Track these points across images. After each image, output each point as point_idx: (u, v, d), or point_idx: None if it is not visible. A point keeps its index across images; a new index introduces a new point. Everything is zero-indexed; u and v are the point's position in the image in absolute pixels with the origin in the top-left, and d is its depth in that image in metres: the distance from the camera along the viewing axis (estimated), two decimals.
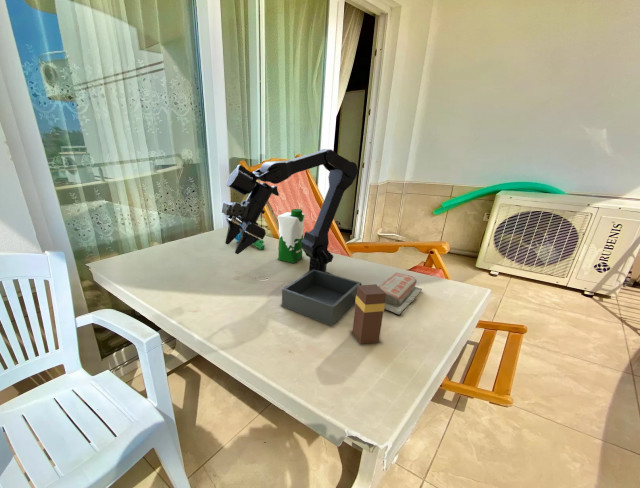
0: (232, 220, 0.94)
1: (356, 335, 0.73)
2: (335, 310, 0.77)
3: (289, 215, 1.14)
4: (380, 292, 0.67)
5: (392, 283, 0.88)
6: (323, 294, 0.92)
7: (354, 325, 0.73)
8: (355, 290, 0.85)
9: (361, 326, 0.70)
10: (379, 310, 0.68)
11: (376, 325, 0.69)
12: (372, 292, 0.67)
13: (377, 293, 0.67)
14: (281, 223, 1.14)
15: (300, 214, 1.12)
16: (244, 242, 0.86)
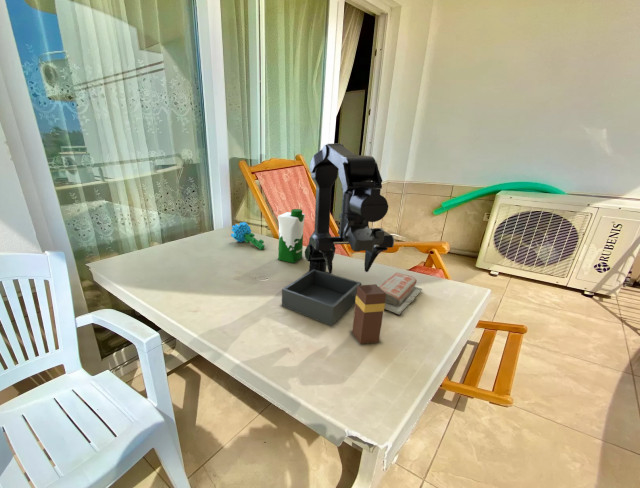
0: None
1: (356, 335, 0.73)
2: (335, 310, 0.77)
3: (289, 215, 1.14)
4: (380, 292, 0.67)
5: (392, 283, 0.88)
6: (323, 294, 0.92)
7: (354, 325, 0.73)
8: (355, 290, 0.85)
9: (361, 326, 0.70)
10: (379, 310, 0.68)
11: (376, 325, 0.69)
12: (372, 292, 0.67)
13: (377, 293, 0.67)
14: (281, 223, 1.14)
15: (300, 214, 1.12)
16: None
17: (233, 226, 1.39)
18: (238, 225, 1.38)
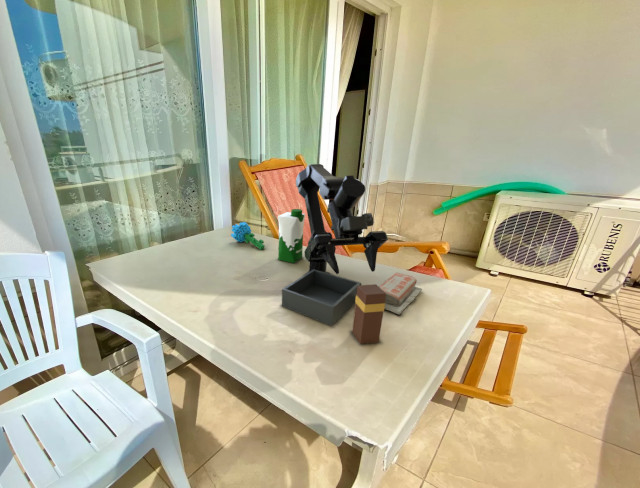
0: None
1: (356, 335, 0.73)
2: (335, 310, 0.77)
3: (289, 215, 1.14)
4: (380, 292, 0.67)
5: (392, 283, 0.88)
6: (323, 294, 0.92)
7: (354, 325, 0.73)
8: (355, 290, 0.85)
9: (361, 326, 0.70)
10: (379, 310, 0.68)
11: (376, 325, 0.69)
12: (372, 292, 0.67)
13: (377, 293, 0.67)
14: (281, 223, 1.14)
15: (300, 214, 1.12)
16: None
17: (233, 226, 1.39)
18: (238, 225, 1.38)
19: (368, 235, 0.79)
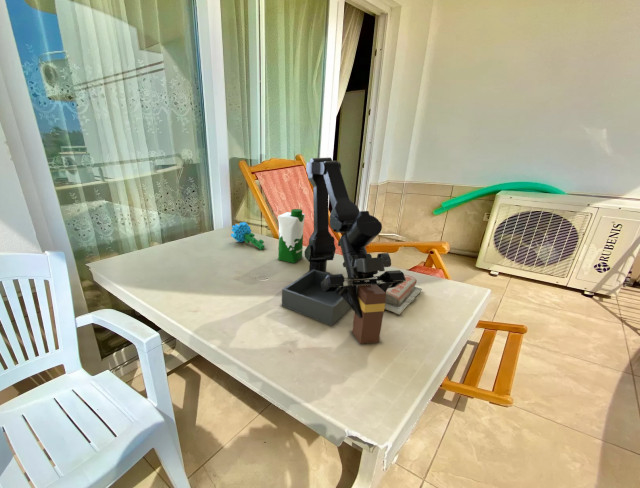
0: None
1: (356, 335, 0.73)
2: (335, 310, 0.77)
3: (289, 215, 1.14)
4: (380, 292, 0.67)
5: None
6: (323, 294, 0.92)
7: (354, 325, 0.73)
8: None
9: (361, 326, 0.70)
10: (379, 310, 0.68)
11: (376, 325, 0.69)
12: (372, 292, 0.67)
13: (377, 293, 0.67)
14: (281, 223, 1.14)
15: (300, 214, 1.12)
16: None
17: (233, 226, 1.39)
18: (238, 225, 1.38)
19: (384, 274, 0.73)
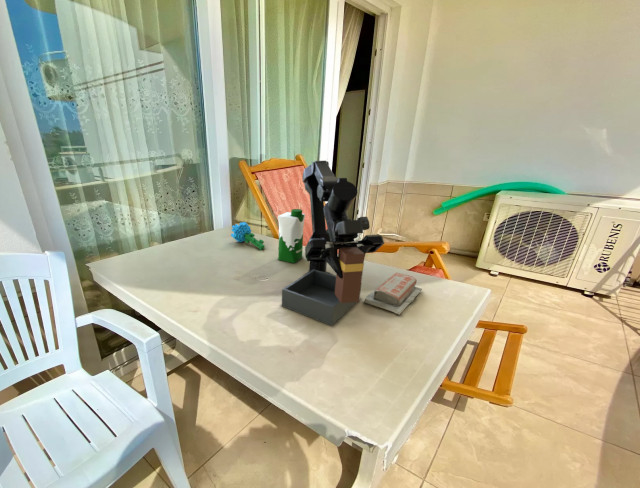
0: None
1: (338, 296, 0.77)
2: (335, 310, 0.77)
3: (289, 215, 1.14)
4: (359, 253, 0.71)
5: (392, 283, 0.88)
6: (323, 294, 0.92)
7: (336, 287, 0.78)
8: None
9: (342, 286, 0.74)
10: (358, 270, 0.72)
11: (355, 284, 0.74)
12: (351, 253, 0.72)
13: (356, 253, 0.71)
14: (281, 223, 1.14)
15: (300, 214, 1.12)
16: None
17: (233, 226, 1.39)
18: (238, 225, 1.38)
19: (364, 239, 0.77)
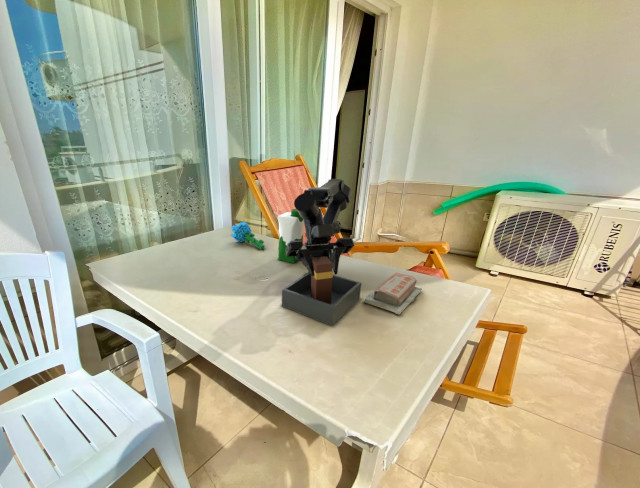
0: None
1: None
2: (335, 310, 0.77)
3: (289, 215, 1.14)
4: (328, 262, 0.82)
5: (392, 283, 0.88)
6: None
7: (311, 291, 0.89)
8: (355, 290, 0.85)
9: (315, 291, 0.85)
10: (328, 277, 0.83)
11: (327, 289, 0.84)
12: (321, 262, 0.82)
13: (325, 263, 0.81)
14: (281, 223, 1.14)
15: None
16: None
17: (233, 226, 1.39)
18: (238, 225, 1.38)
19: (337, 241, 0.88)
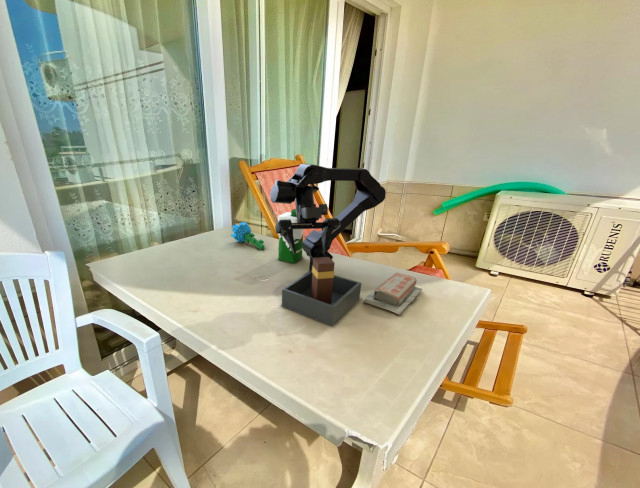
0: None
1: None
2: (335, 310, 0.77)
3: (289, 215, 1.14)
4: (330, 262, 0.82)
5: (392, 283, 0.88)
6: None
7: (312, 291, 0.89)
8: (355, 290, 0.85)
9: (316, 291, 0.85)
10: (330, 277, 0.83)
11: (328, 289, 0.85)
12: (323, 262, 0.83)
13: (327, 262, 0.82)
14: None
15: None
16: None
17: (233, 226, 1.39)
18: (238, 225, 1.38)
19: (325, 221, 0.92)
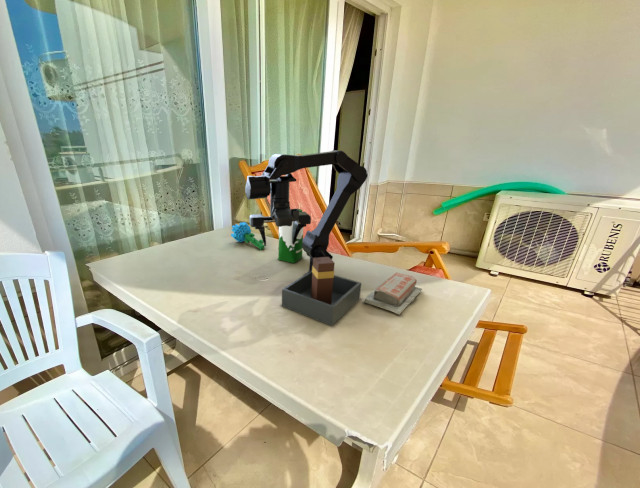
0: (262, 225, 0.94)
1: None
2: (335, 310, 0.77)
3: None
4: (330, 262, 0.82)
5: (392, 283, 0.88)
6: None
7: (312, 291, 0.89)
8: (355, 290, 0.85)
9: (316, 291, 0.85)
10: (330, 277, 0.83)
11: (328, 289, 0.85)
12: (323, 262, 0.83)
13: (327, 262, 0.82)
14: None
15: None
16: None
17: (233, 226, 1.39)
18: (238, 225, 1.38)
19: None
